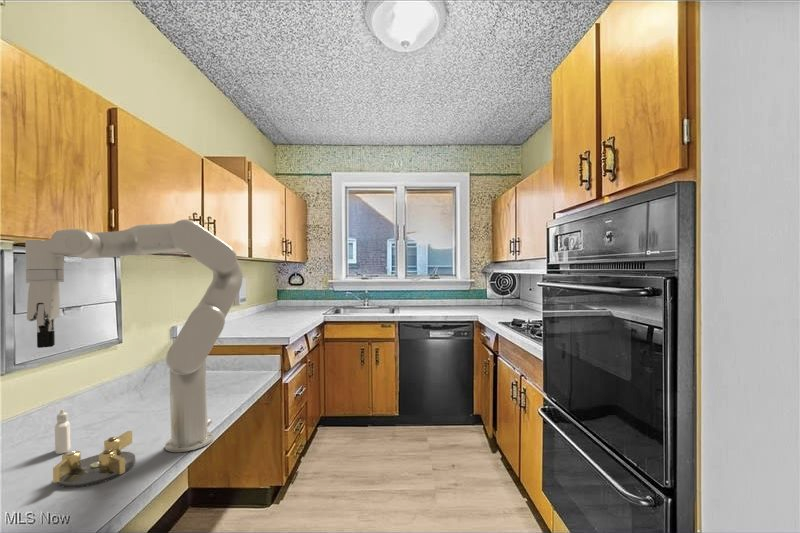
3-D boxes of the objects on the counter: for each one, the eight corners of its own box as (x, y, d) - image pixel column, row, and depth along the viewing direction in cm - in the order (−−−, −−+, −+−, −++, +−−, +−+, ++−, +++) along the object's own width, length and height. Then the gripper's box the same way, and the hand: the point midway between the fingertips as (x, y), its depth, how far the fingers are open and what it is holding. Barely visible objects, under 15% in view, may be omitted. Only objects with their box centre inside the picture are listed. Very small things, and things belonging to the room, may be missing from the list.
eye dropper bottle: (77, 446, 120) (76, 405, 121) (64, 454, 115) (64, 412, 115) (61, 447, 120) (60, 407, 120) (47, 456, 114) (46, 413, 114)
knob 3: (96, 470, 100) (95, 451, 100) (112, 464, 103) (112, 446, 103) (114, 478, 96) (113, 458, 96) (130, 471, 99) (130, 452, 99)
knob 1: (66, 468, 102) (66, 449, 102) (83, 465, 103) (83, 447, 103) (47, 485, 94) (46, 465, 94) (65, 482, 95) (65, 462, 95)
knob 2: (114, 458, 107) (114, 440, 107) (101, 458, 107) (100, 441, 107) (136, 444, 116) (136, 427, 116) (124, 444, 116) (123, 428, 116)
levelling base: (91, 458, 112) (90, 448, 112) (148, 456, 112) (148, 446, 112) (39, 488, 96) (38, 478, 96) (106, 486, 96) (105, 475, 96)
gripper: (34, 277, 111) (35, 344, 110) (17, 277, 98) (17, 352, 97) (69, 276, 114) (70, 341, 114) (56, 276, 101) (57, 349, 101)
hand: (46, 346), depth 106 cm, fingers closed
